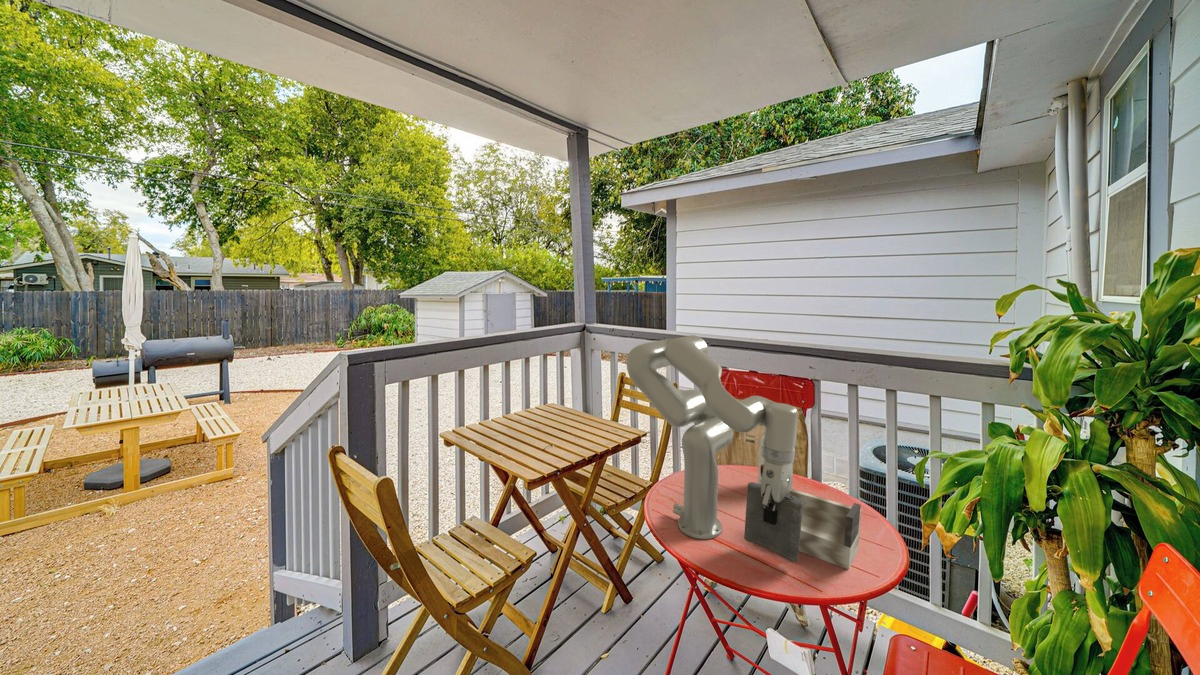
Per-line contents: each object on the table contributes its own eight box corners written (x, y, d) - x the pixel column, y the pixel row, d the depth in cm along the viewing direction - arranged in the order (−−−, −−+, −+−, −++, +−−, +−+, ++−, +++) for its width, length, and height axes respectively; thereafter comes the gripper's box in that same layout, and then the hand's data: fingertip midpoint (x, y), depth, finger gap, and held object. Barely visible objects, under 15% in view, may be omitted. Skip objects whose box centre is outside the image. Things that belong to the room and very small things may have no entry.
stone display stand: (769, 539, 129) (772, 493, 127) (782, 524, 136) (784, 480, 134) (848, 569, 116) (852, 518, 114) (857, 551, 124) (862, 502, 121)
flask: (748, 533, 127) (753, 472, 124) (801, 557, 117) (807, 491, 114) (742, 538, 124) (746, 476, 121) (795, 563, 114) (801, 496, 111)
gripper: (781, 468, 107) (775, 539, 111) (804, 446, 120) (798, 511, 123) (750, 459, 112) (745, 527, 115) (775, 439, 125) (770, 501, 128)
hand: (772, 518), depth 119 cm, fingers closed on flask, 3 cm apart
